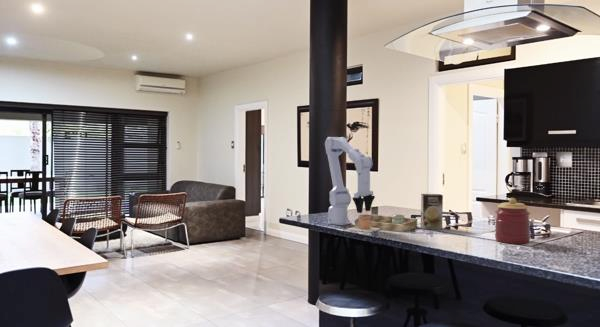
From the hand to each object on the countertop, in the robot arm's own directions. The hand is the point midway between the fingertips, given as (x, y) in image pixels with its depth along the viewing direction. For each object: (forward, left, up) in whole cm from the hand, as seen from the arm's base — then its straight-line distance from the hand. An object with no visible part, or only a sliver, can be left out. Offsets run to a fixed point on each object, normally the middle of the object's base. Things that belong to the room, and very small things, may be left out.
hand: (363, 211), depth 216 cm
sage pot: (+11, +13, -9) cm, 19 cm away
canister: (+62, +12, -9) cm, 64 cm away
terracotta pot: (0, 0, -8) cm, 8 cm away
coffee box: (+24, +22, -9) cm, 34 cm away
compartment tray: (+5, +13, -8) cm, 16 cm away
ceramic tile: (0, 0, -8) cm, 8 cm away
